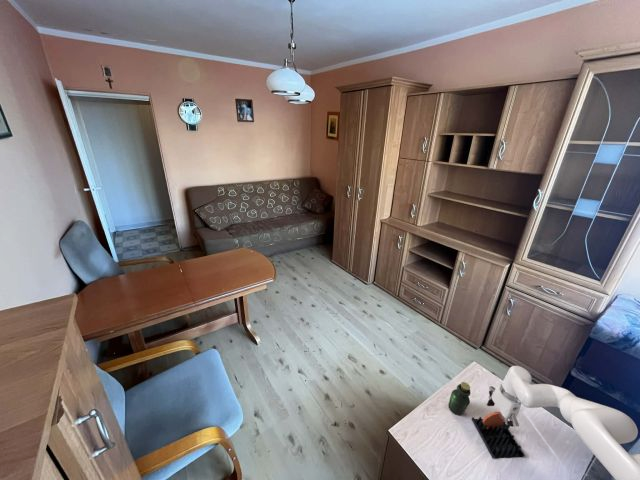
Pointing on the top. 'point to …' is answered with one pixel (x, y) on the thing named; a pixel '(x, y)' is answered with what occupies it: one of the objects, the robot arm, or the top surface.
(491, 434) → the rack
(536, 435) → the top surface
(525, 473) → the top surface
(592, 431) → the robot arm
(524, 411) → the top surface
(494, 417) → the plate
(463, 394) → the potion bottle
